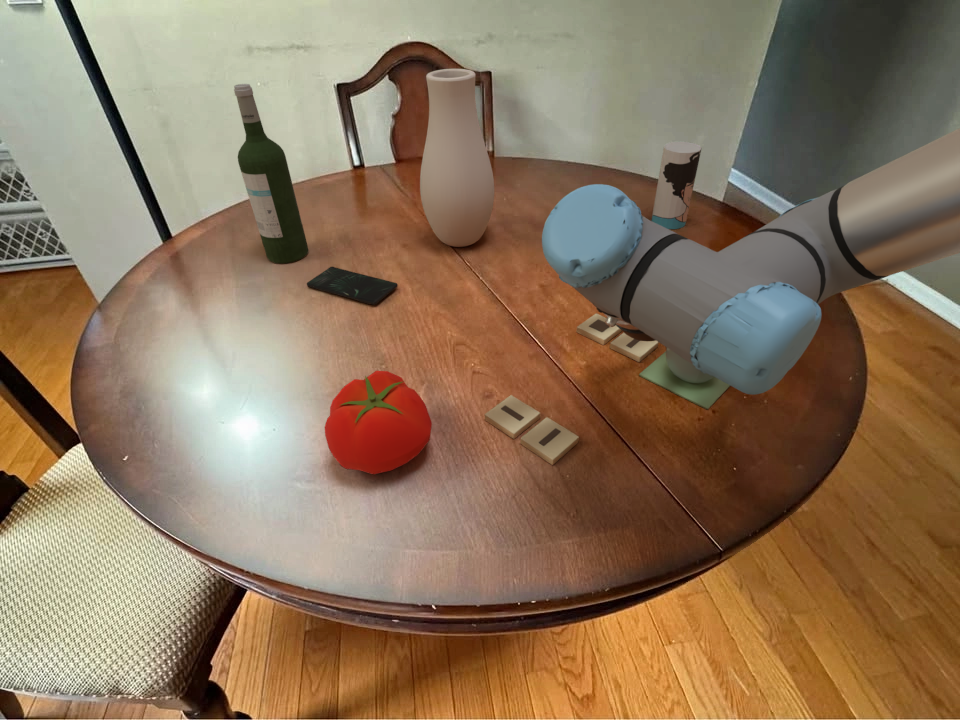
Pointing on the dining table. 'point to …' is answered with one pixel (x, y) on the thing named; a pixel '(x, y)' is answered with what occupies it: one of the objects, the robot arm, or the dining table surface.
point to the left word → (542, 438)
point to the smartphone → (352, 285)
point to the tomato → (377, 424)
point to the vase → (455, 161)
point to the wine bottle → (269, 186)
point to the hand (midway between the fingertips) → (689, 349)
